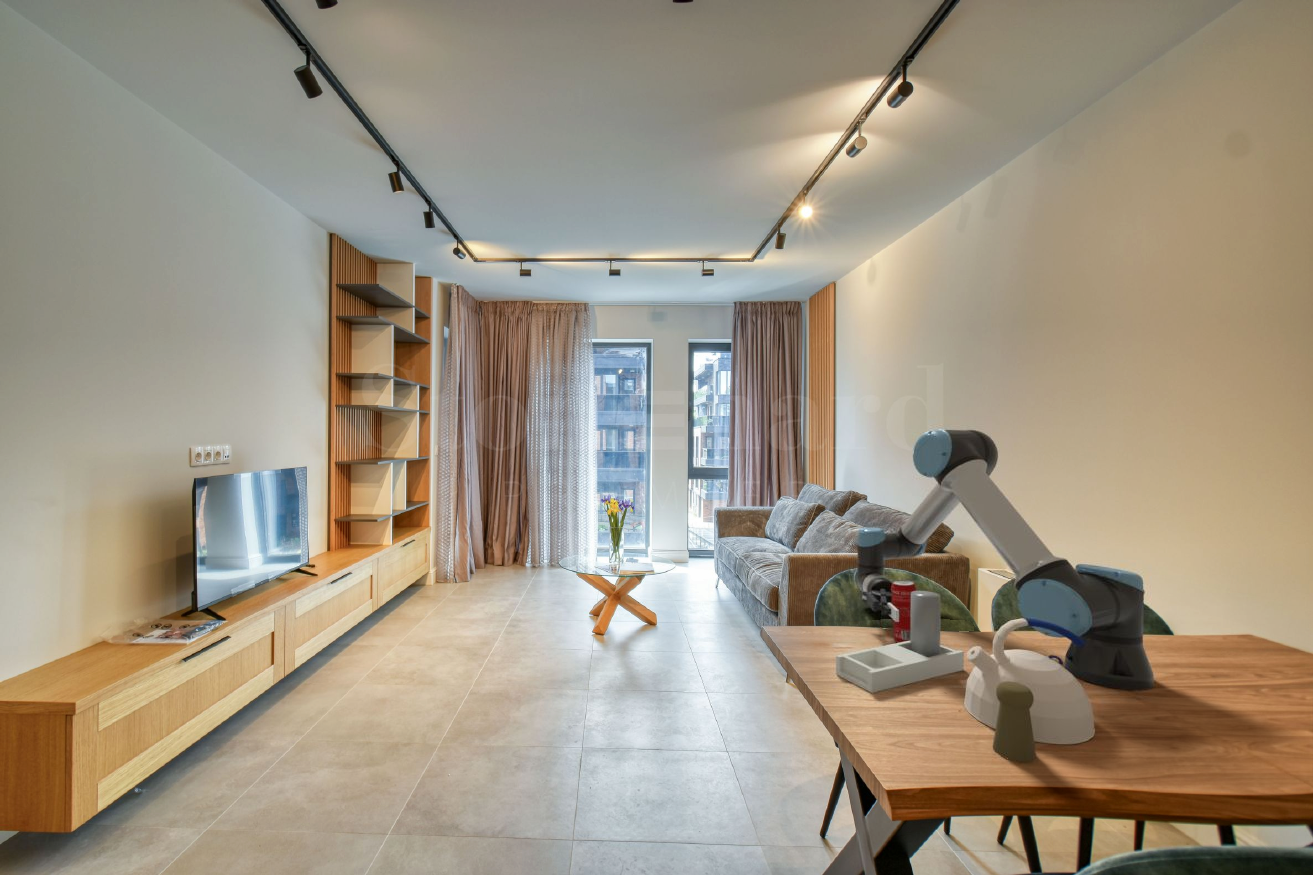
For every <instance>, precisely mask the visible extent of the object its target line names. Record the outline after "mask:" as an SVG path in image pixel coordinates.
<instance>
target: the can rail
mask: <svg viewBox="0 0 1313 875" xmlns="http://www.w3.org/2000/svg"><path fill="white" fill-rule="evenodd" d="M941 599H942V598H941V594H939V593H936V592H934V591H926V590H916V591H913V592H911V639H910V641H905V642H900V643H896V642H895V643H891V644H887V645H886V644H885V645H881V646H875V647H872V648H866V649H862V650H857V651H852V652H851V651H850V652H848V653H842V654H837V655H835V658H836V659H835V663H836V664H835V674H836V675H837V676H839V677H841V678H842V679H845V680H847V681H848V682H850V683H852V684H854V685H856V686H858V687H860V688H862V689H863V690H865V691H867V692H868V693H871V694H873V693H876V692H881V691H885V690H889V689H893V688H897V687H901V686H904V685H909V684H913V683H917V682H922V681H925V680H929V679H933V678H937V677H942V676H946V675H949V674H953V673H957V672H961V671H964V669H965V667H964V666H965V665H964V663H965V661H964V660H965V659H964V658H965V654H964V653H965V652H964V651H963V650H956V649H952V648H950V647H947V646H945V645H942V644H941V603H942V602H941Z"/></svg>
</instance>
